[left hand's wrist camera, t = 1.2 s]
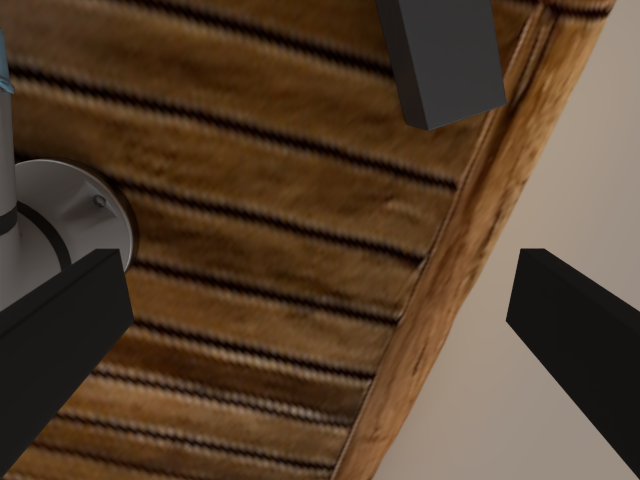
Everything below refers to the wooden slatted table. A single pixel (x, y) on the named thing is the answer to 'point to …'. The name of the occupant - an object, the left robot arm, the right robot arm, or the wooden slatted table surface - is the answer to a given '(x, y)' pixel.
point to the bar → (443, 59)
